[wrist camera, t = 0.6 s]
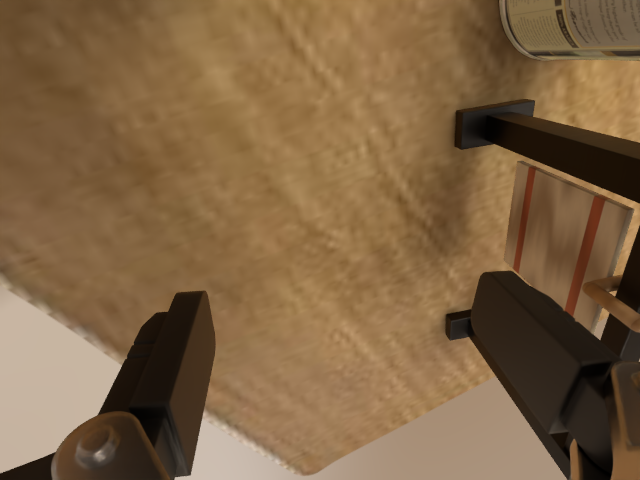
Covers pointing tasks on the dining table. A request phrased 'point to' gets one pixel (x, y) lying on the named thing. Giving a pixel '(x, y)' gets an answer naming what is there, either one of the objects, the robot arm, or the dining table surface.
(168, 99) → the dining table surface
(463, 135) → the rail
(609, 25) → the coffee can
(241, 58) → the dining table surface
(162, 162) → the dining table surface
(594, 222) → the brown flat handled piece
